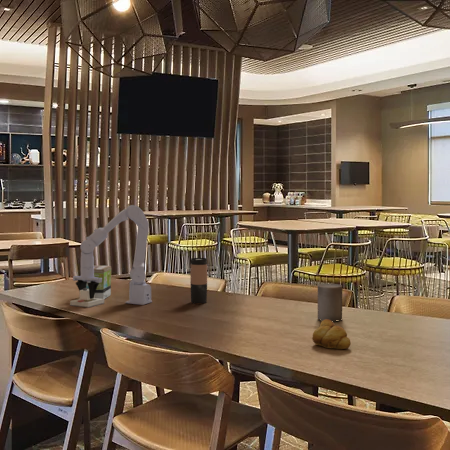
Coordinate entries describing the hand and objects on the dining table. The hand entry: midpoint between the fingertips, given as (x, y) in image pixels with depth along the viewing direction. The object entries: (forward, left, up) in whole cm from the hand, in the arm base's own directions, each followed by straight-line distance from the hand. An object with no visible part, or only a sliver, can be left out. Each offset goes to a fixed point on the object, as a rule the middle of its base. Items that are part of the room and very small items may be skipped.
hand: (87, 297), depth 249 cm
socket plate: (0, 0, -3) cm, 3 cm away
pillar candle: (-104, -19, -3) cm, 106 cm away
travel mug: (-41, -28, -3) cm, 50 cm away
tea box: (+7, -16, -3) cm, 18 cm away
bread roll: (-115, +21, -3) cm, 117 cm away
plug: (0, 0, -2) cm, 2 cm away
